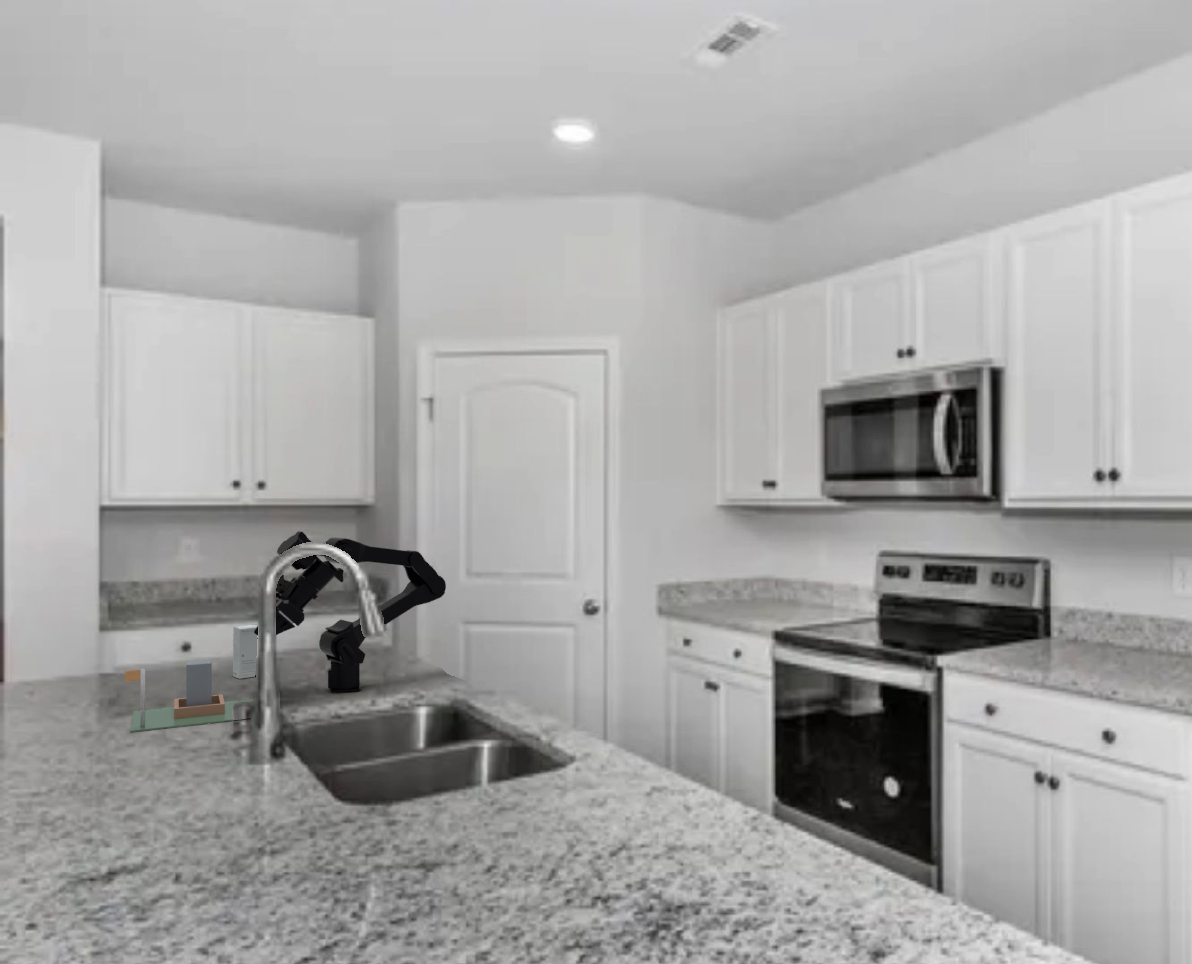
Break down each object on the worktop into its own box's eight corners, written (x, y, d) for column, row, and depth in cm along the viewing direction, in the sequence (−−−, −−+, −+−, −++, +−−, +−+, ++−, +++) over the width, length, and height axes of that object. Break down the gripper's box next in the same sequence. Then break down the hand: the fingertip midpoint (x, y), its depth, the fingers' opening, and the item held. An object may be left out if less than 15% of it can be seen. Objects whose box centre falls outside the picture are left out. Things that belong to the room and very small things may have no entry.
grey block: (210, 707, 182) (210, 659, 182) (211, 712, 178) (211, 663, 178) (186, 709, 180) (186, 661, 180) (186, 715, 176) (186, 665, 176)
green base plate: (259, 699, 190) (259, 647, 190) (266, 717, 175) (266, 660, 175) (128, 713, 179) (128, 657, 179) (124, 732, 164) (124, 672, 165)
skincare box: (239, 679, 210) (239, 628, 210) (232, 676, 213) (232, 626, 213) (264, 675, 214) (264, 625, 214) (257, 672, 217) (257, 623, 217)
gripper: (278, 555, 200) (226, 606, 196) (287, 561, 184) (231, 618, 179) (314, 588, 204) (263, 639, 199) (326, 597, 187) (272, 653, 182)
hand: (257, 636), depth 190 cm, fingers open, 9 cm apart
